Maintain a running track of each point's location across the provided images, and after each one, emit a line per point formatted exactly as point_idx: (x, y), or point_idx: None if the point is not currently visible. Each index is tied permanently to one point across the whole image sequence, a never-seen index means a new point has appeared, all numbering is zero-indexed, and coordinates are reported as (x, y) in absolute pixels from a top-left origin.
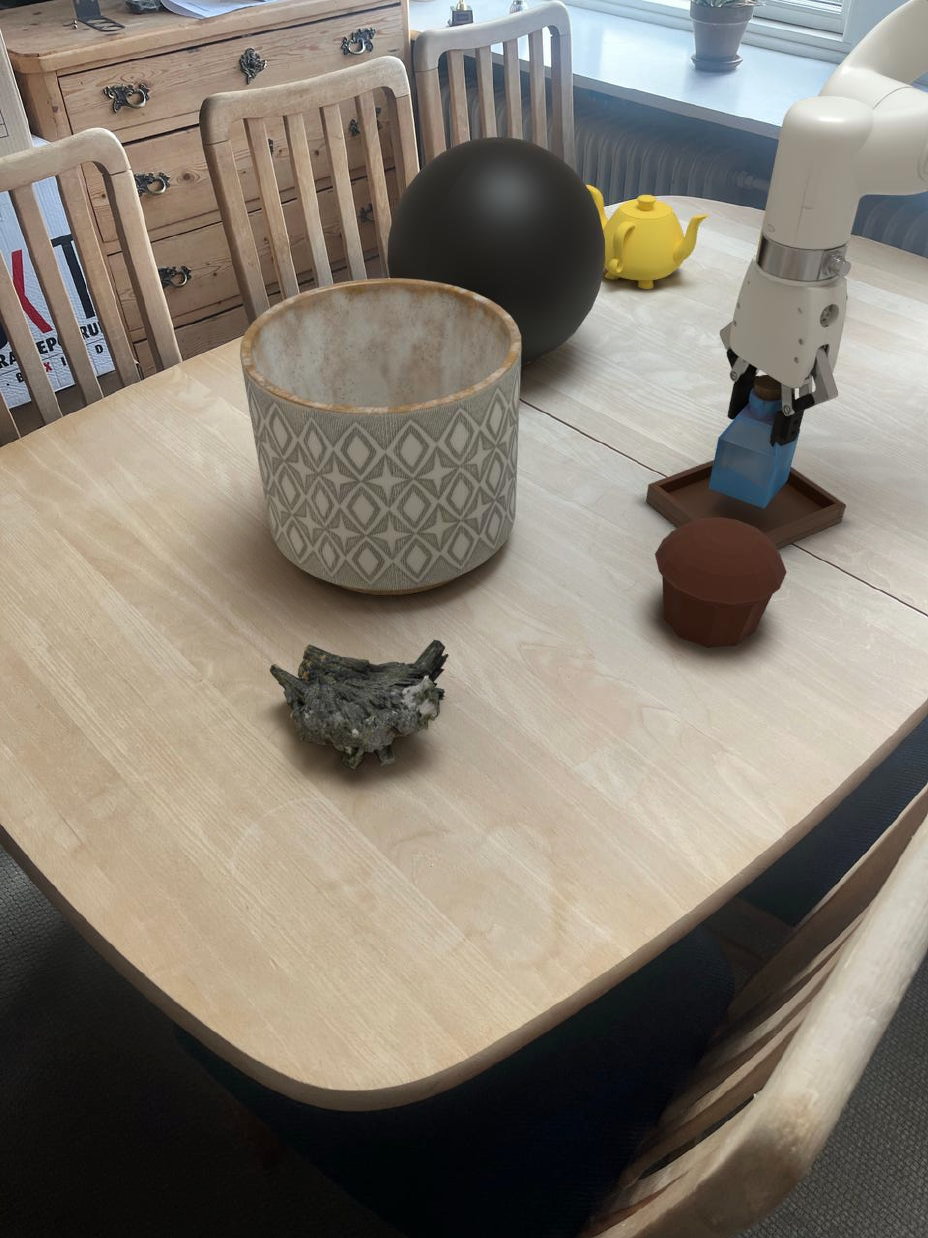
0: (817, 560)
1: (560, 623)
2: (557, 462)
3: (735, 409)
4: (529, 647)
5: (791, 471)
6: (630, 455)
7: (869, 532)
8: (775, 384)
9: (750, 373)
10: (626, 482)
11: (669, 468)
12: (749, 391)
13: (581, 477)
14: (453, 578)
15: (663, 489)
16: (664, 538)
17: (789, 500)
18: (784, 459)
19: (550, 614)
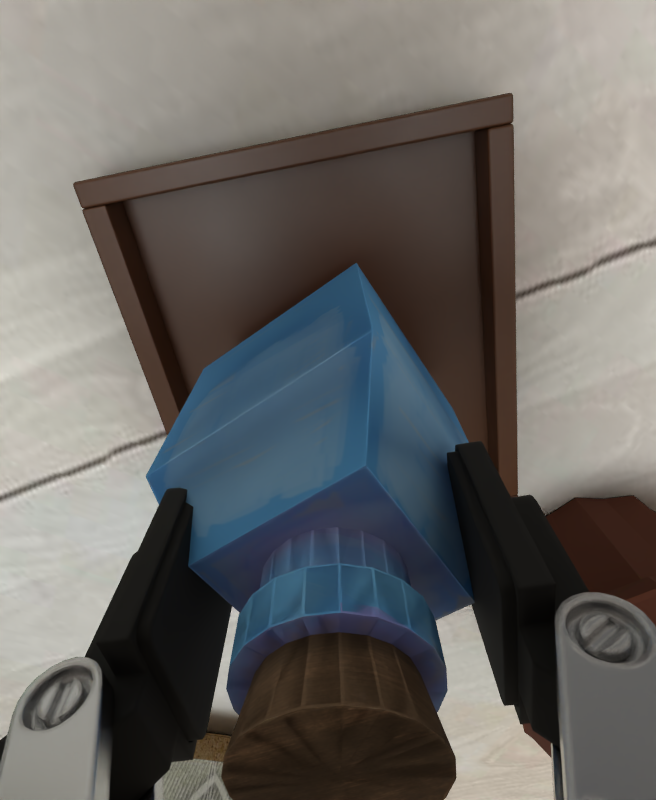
0: (584, 280)
1: (473, 721)
2: (42, 605)
3: (228, 621)
4: (495, 757)
5: (267, 167)
6: (30, 476)
7: (577, 33)
8: (372, 768)
9: (132, 751)
10: (141, 524)
11: (102, 421)
12: (188, 639)
13: (105, 587)
14: None
15: None
16: (526, 732)
17: (356, 220)
18: (434, 403)
19: (449, 725)
